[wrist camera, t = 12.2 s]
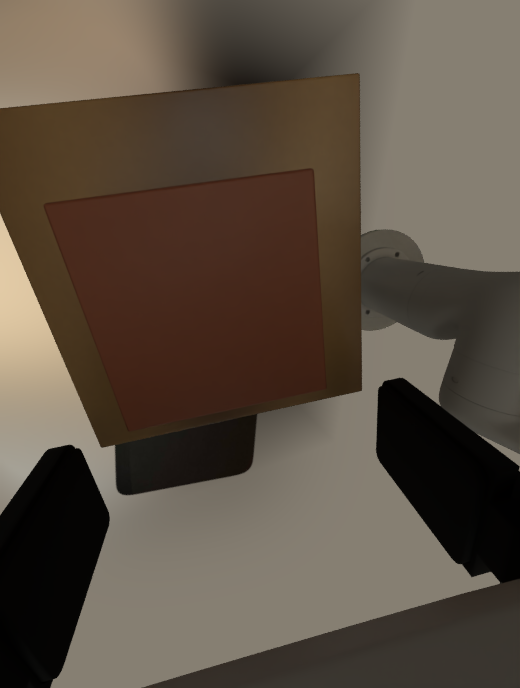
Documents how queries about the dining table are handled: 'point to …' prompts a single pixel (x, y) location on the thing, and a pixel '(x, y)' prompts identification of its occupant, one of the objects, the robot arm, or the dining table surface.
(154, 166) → the pedestal
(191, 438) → the dining table surface
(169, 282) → the block
